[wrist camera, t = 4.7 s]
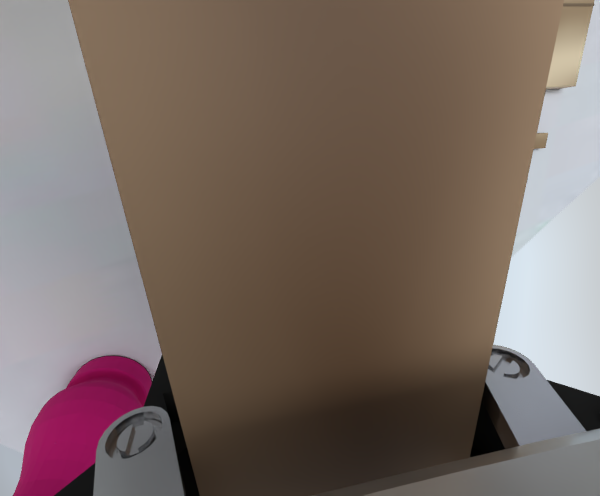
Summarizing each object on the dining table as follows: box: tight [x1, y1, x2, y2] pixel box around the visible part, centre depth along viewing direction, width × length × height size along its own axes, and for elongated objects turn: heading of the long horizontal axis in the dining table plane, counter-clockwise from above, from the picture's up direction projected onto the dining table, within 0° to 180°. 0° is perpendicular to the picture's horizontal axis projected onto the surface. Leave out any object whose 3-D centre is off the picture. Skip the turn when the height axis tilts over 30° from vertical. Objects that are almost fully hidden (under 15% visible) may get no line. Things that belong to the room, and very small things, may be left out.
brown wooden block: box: [68, 0, 564, 496], centre depth 9 cm, size 6×16×6 cm, turn 4°
